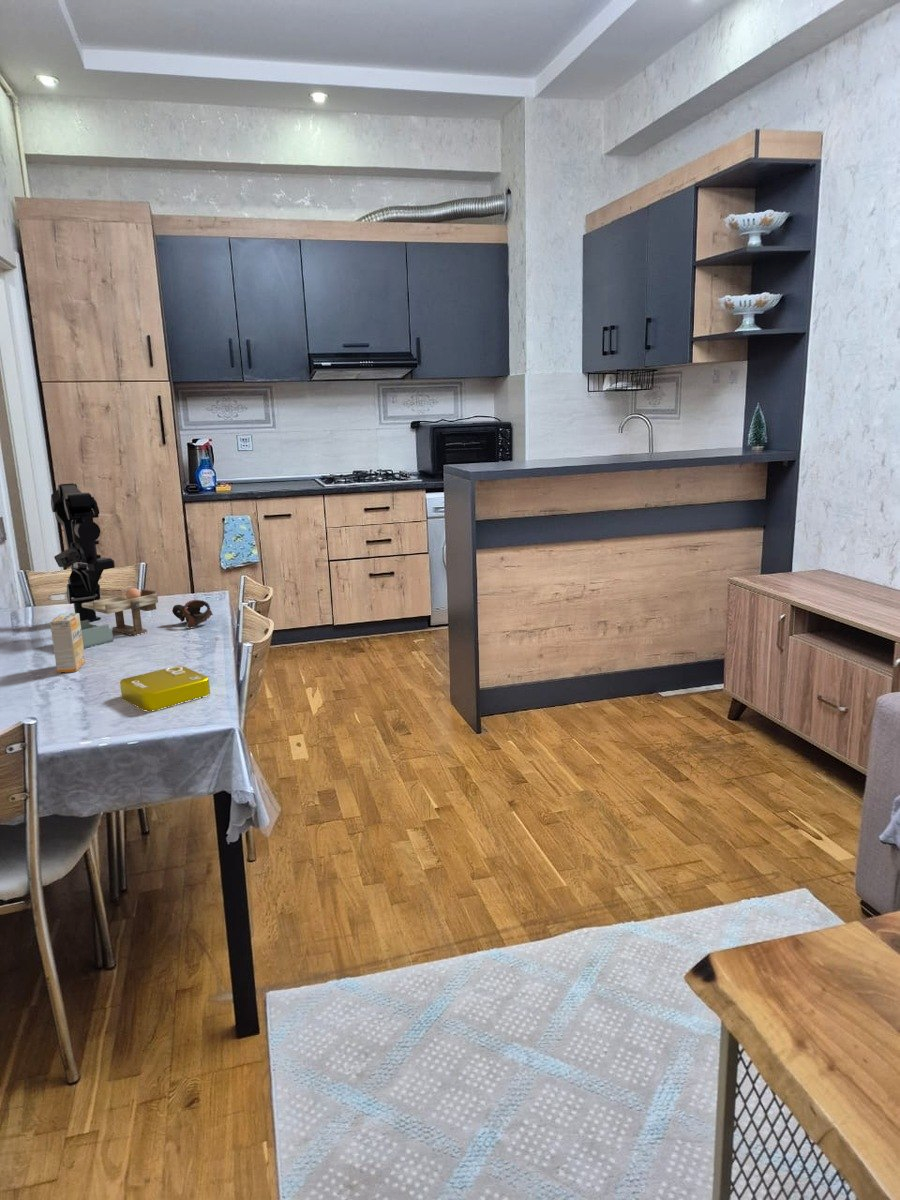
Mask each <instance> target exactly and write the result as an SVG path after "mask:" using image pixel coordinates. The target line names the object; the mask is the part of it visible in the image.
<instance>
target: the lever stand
mask: <svg viewBox="0 0 900 1200" xmlns="http://www.w3.org/2000/svg"><path fill="white" fill-rule="evenodd" d="M130 611H131V617H132V625H129V624H125V617H124V616H125V615H124V610H123V611H119V612H114V616H115V624H116V626H114V627H112V628H111V629H112V632H116V631H117V632H116V633H120V632H121V633H120V634H124V633H126V634H125V635H128V634H131V635H130V636H133V635H136V636H138V635H137V634H140V635H142V634H141V633H144V634H146V633H145V632H147V633H148V631H147V628H143V627H142V617H141V610H140V605H139V601H133V602H131V609H130Z"/></svg>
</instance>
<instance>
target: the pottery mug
mask: <svg viewBox="0 0 900 1200" xmlns="http://www.w3.org/2000/svg"><path fill="white" fill-rule="evenodd" d="M204 606H205V608H206V610H205V611H204V612H201V609H202V608H203V607H204ZM171 610H172V614H173V615H174V616H175V617H176V618H177V619H179V620H180V623H183V622H185V621H186V624H187V627H188V628H191V627H194V626H195V625H196V626H197V625H199V624H201V623H204V622H207V621H208V619H210V618H211V616H213V615H214V613H213V612H212V610H211V607H210V604H209V603H208V602H206V601H205V600H201V599H193V600H189V601H187V602H186V603H185V604H184V605H182V604H175V605H173V607H172V609H171Z"/></svg>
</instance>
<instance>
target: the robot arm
mask: <svg viewBox="0 0 900 1200" xmlns="http://www.w3.org/2000/svg"><path fill="white" fill-rule="evenodd" d="M50 507H51V512H52V513H54V516H55V519H56V521H58V523H59V524H61V526H62V528H63V532H64V538H65V543H66V544H65V545H66V548H67V549H66V550H65V549H64V550H63V551H62V552H60V553H58V554H57V555H54V556H53V558H54V560H55V561H56V565H58V568H64V569H68V568H70V569H71V573H70V575H69V577H68V580H67V584H66V599H67V602H68V604H70V605H71V604H73V608H74V613H79V616H80V621H84V620H89V622H92V621H97V620H101V619H102V617H100V616H97V612H96V611H94V610H93V609H89V608H84V607H82V604H83V603H87V602H92V601H100V600H102V599H101V591H100V590H101V585H100V584H99V581H100V579H101V576H102V574H103V572H104V570H105V571H106V570H109V569H114V568H116V563H115V560H114V559H112V558H111V557H102V556H101V554H98V550H97V545H99V544H100V541H99V540H98V539H99V537H100V536H101V528H100V526H99V525H98V524H97V523H96V522H94V519H96V518H100V517H99V516H100V508H99V505H98V503H97V500H96V499H95V497H94V496H92V494H91V493H90V492H82V491H81V490H80V489H79V488H78V486H77V484H76V483H73V482H72V483H70V482H69V483H60V484H59V485H57V489H56V490H55V491H54V492H53V493H52V494H51V495H50Z"/></svg>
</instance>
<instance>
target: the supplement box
mask: <svg viewBox="0 0 900 1200" xmlns="http://www.w3.org/2000/svg"><path fill="white" fill-rule="evenodd" d="M49 624H50V625H49V626H50V632H51V638H52V639H51V640H52V644H53V651H54V659H55V667H56V673H59V674H62V673H61V672H65V673H74V672H75V673H76V672H77V671H78V670H79V669H80V668H81V666H83V665H84V664H85V663H86V656H85V649H84V647H83V639H82V631H81V624H80V616H79V613H75V612H74V613H63V614H59V615H58V616H56V617H55V618H53V620H51V621H49Z"/></svg>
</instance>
